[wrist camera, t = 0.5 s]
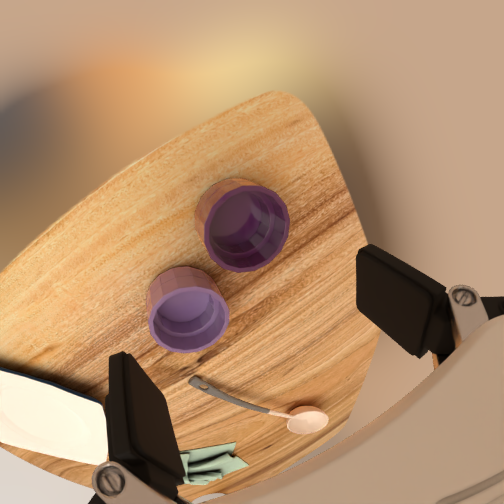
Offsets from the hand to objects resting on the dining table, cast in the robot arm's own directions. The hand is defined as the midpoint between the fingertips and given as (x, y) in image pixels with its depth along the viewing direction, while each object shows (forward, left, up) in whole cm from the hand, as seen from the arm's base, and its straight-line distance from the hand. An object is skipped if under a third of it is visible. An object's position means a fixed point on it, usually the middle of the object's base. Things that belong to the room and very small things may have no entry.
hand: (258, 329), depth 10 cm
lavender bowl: (+6, -4, -14) cm, 16 cm away
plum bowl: (+1, +3, -14) cm, 15 cm away
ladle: (+29, -2, -14) cm, 33 cm away
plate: (+13, -31, -14) cm, 36 cm away
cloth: (+43, -20, -14) cm, 50 cm away
